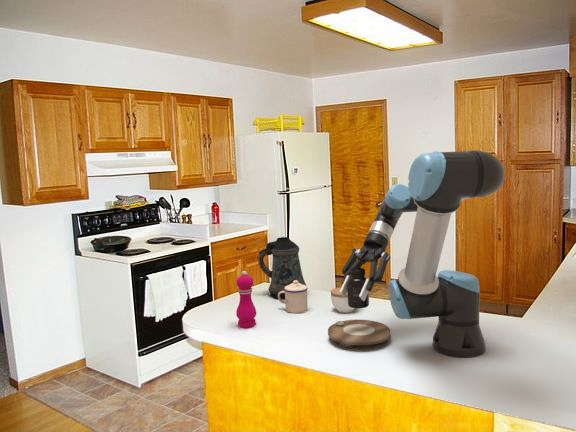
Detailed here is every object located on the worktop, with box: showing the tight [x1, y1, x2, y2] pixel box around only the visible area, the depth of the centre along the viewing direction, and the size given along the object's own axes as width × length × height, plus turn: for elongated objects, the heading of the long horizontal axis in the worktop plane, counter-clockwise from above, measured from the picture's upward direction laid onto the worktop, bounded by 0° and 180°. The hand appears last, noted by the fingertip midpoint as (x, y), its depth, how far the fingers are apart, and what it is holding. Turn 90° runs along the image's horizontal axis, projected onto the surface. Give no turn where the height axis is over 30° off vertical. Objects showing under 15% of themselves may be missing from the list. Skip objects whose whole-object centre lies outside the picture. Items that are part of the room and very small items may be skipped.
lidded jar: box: [330, 286, 356, 314], centre depth 190 cm, size 11×11×9 cm
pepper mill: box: [235, 270, 257, 329], centre depth 177 cm, size 7×7×20 cm
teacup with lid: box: [277, 280, 309, 314], centre depth 193 cm, size 12×9×12 cm
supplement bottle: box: [347, 267, 370, 309], centre depth 159 cm, size 7×7×12 cm
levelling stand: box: [327, 319, 391, 350], centre depth 161 cm, size 20×20×4 cm
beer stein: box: [257, 236, 307, 301], centre depth 213 cm, size 16×19×25 cm
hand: (351, 296), depth 157 cm, fingers closed on supplement bottle, 7 cm apart
